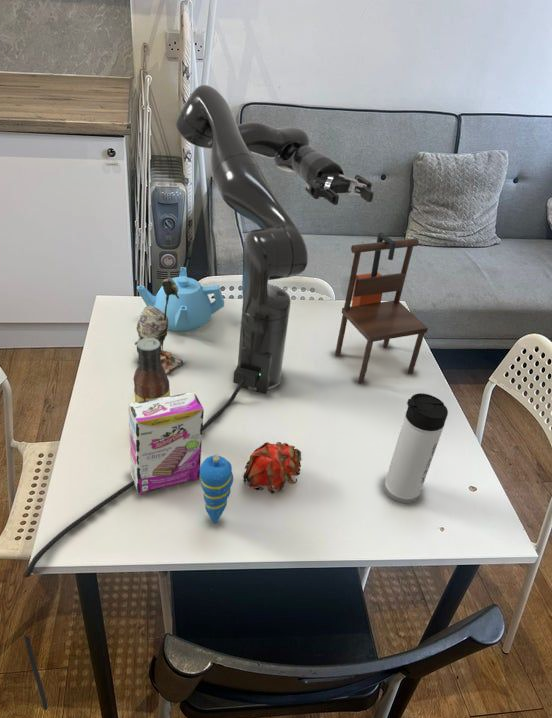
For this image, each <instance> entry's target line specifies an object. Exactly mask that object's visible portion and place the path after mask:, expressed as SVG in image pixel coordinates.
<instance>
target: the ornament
mask: <svg viewBox="0 0 552 718" xmlns="http://www.w3.org/2000/svg"><path fill="white" fill-rule="evenodd" d="M199 478H200V480H201V482H200V486H201V489H202V491H203V500H204V502H205V506H204V508H205V511H206V513H207V515H208V517H209V518H210V521H211V523H213V524H217V523H218V522H219V520H220V518H221V516H222V515H223V513H224V511H225V509H226V507H227V505H228V499H229V497H230V496H231V491H232V486H233V483H234V473H233V467H232V464H231V462H230V461H229V460H227V458H225V457H223V456H222V455H210V456H207V457H206V458H205V459H204V460H203V461H202V463H201V464H200V477H199Z"/></svg>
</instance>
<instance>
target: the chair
mask: <svg viewBox="0 0 552 718" xmlns="http://www.w3.org/2000/svg"><path fill="white" fill-rule="evenodd" d="M394 241H395V242H396V245H395V249H403V248H406V250H405V254H404V258H403V262H402V265H401V271H400V272H399V273H391V274H383V275H382V274H381V275H382V276H375V277H367V278H359V279H357V281H356V286H355V280H356V275H358V269H359V263H360V259H361V254H362V253H369V252H375V251H378V250H381V251H386V250H390V244H388V243H387V242H385V241H383V242H377V241H376V242H368V243H359V244H353V245H351V247H350V250H351V253H352V254H354V255H353V260H352V266H351V270H350V276H349V279H348V286H347V291H346V296H345V301H344V307H341V308H342V309H341V314H342V316H341V322H340V326H339V331H338V337H337V340H336V341H337V342H336V348H335V352H334V356H336V357H340V356H341V354H342V348H343V343H344V339H345V334H346V329H347V324H348V322H350V324H351V325H352V326H353V327H354V328H355V329H356V330H357V331H358V332H359V333H360V334H361V335H362V336H363V337H364V338H365V340H366V345H365V350H364V353H363V358H362V363H361V366H360V371H359V376H358V380H357V383H358V384H360V385H363V384H364V383H365V379H366V375H367V369H368V365H369V361H370V357H371V352H372V348H373V345H374V343H375V342H380V341H383V343H382V348H384V349H387V348H388V347H389V343H390V340H391V339H398V338H403V337H409V336H415V335H417V337H416V340H415V344H414V346H413V347H414V348H413V351H412V355H411V359H410V362H409V365H408V367H407V374H408V375H413V374H414V371H415V367H416V364H417V361H418V357H419V353H420V350H421V347H422V343H423V340H424V338H425V337H424V336H425V334H427V333H428V329H429V328H428V326H426V325H425V324H424V322H422V321H421V319H419V318H418V317H417V316H416V315H415V314H413V313H412V312H411V311H410V310H409V309H408V308H407V307H406V306H405V305H403V304H402V302H400V301H401V296H402V293H403V288H404V285H405V281H406V278H407V273H408V269H409V265H410V262H411V259H412V254H413V250H414V247H418V246H419V244H420V241H419V239H418V237H417V238H416V237H415V238H405V239H397V240H394ZM354 287H355V291H354ZM393 292H395V295H394V298H393V299H394V300H393V299H392V300H387V301H381V302H379V303H373V304H366V305H359V306H352V300H353V293H354V297H358V296H365V295H372V294H379V293H382V294H384V293H385V294H386V293H393ZM351 306H352V307H351Z"/></svg>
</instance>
